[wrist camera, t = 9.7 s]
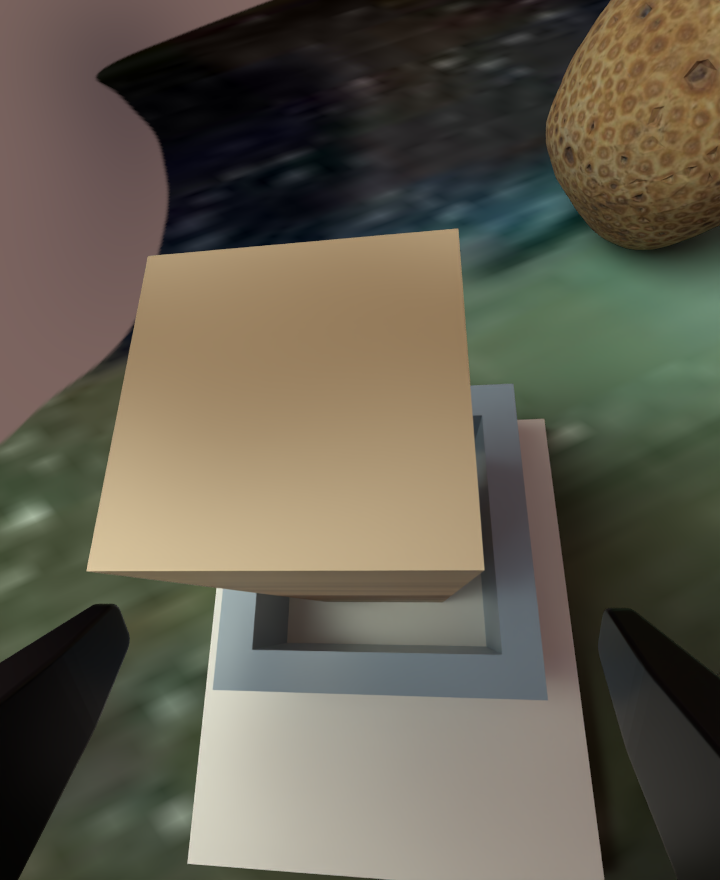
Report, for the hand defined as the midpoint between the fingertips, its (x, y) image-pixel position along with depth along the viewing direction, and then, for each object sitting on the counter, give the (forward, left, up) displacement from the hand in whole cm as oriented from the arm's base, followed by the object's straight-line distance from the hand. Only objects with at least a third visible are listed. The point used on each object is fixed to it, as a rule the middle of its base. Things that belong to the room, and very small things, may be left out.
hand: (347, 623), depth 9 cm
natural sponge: (+19, -8, -9) cm, 22 cm away
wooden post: (+3, 0, -8) cm, 8 cm away
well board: (0, 0, -9) cm, 9 cm away
